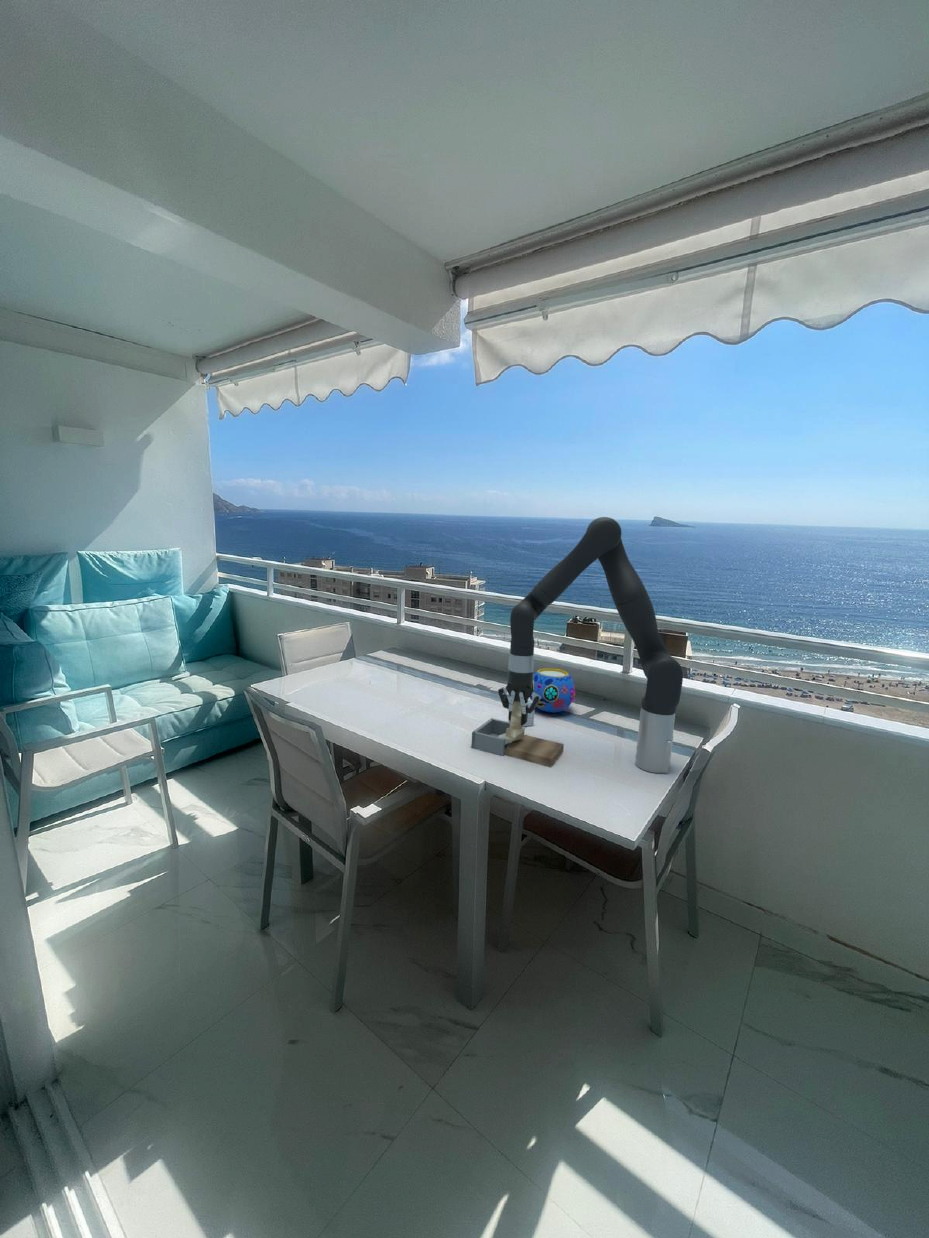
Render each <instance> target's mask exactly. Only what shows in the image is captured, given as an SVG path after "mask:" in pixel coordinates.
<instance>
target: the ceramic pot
mask: <svg viewBox="0 0 929 1238" xmlns="http://www.w3.org/2000/svg"><path fill="white" fill-rule="evenodd" d="M532 687H533V690H534V693H536V694H537V695H539V694H540V695H541V699H540V701H539V702H538V704H537V706H536V708H537V709H539V710H540V711H543V712H546V713H551V712H552V713H554V714H555V713H559V712H563V711H565V710H567V709H568V708H569V707H570V706H571V705H572V703H573V702H574V700H575V696H576V688H575V682H574V680H573V677H572V676H571V674H569V673H568V672H567V671H565V670H562V669H560V668H559V669H557V668H549V667H548V668H541V669H538V670H537V671H535V672H533V685H532ZM529 699H530V700H532V695H531V696H530V697H529ZM532 701H533V700H532Z"/></svg>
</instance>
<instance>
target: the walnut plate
mask: <svg viewBox="0 0 929 1238" xmlns="http://www.w3.org/2000/svg"><path fill="white" fill-rule="evenodd" d="M564 746H565V744H564V743H562V742H556V741H553V740H548V739H545V738H540V737H537V736H533V735H532V736H531V735H528V734H524V738H521V739H518V740H515V741H513V742H511V743H510V744H509V745H508V746H507V747H506V754H505V756H507V757H511V758H516V759H519V760H523V761H527V762H530V763H533V764H537V765H542V766H544V767H548V768H549V767H550V768H552V766H554V764H555V763H556V762H557V760H558V759H559V758H560V756H561V755H562V754H563V753H564Z"/></svg>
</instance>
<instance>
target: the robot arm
mask: <svg viewBox="0 0 929 1238" xmlns="http://www.w3.org/2000/svg"><path fill="white" fill-rule="evenodd" d="M625 549H626V548H625V546H624V544H623V539H622V528H621V525H620V524H619V522H617V521H616V520H615V519H614V518H612V517H608V516H602V517H601V516H600V517H597V518H595V519H594V520H592V521H591V522H590V523H589V524H588V526H587V528H586V531H585V533H584V535H583V536H582V538H581V539H580V540H579V542H578V543H577V544H576V545H575V547H574V548H573V549H572V550H571V551H570V552H569V553H568V554H567V555H565V557H563V559H562V560H561V561H559V562H558V563H557V564H555V566H553V567H552V568H551V570H549V571H548V572H547V573H546V574H545V575H544V576H543V577H542V578H541V579H540V581H538V582H537V583H536V584H535V586H534V587H533V588H532V590H531V592H529V593H528V594H527V595H525V597H524V598H523V599H521V601H519V602H518V603H517V604H516V605H514V607H513V608H512V609H511V612H510V616H509V617H510V620H509V622H510V626H509V627H510V636H511V637H510V647H509V648H510V649H509V657H508V668H507V669H508V671H507V684H506V686H505V687H501V688H499V689H498V690H497V693H498V695H499V698H500V702H501V704H502V708H504V709H507V710H508V715H507V717H508V718H507V719H509V720H510V721H511V714H512V707H513V704H514V701H519V702H520V703H521V707H522V715H521V725H524V724H525V723H527V718H528V713H532V712H533V711H534V710H535V711H536V708H537V707H536V706H537V704H538V702H539V701H540V699H541V695H540V694H539V695H537V694H536V693H534V690H533V687H532V685H533V674H534V670H535V659H534V656H535V637H534V626H535V621H536V620H537V619H538V618H539V616H541V615H542V613H543V612H544V611H545V610H546V609H547V608H548V607H549V606H551V605H552V604H553V603H554V602H555V601H556V600H557V599H558V598H559V597H560V596H562V594H563V593H564V592H565V591H566V590H567V589H568V588H569V587H570V586H571V585H572V584H573V583H574V582H575V580H576V579H577V578H578V577H579V576H580V575H581V574H582V573H583V572H584V571H585V570H586V569H587V568H588V567H590V565H592V564H593V563H594V562H595V561H597V560H598V562H599V563H600V565H601V567H602V570H603V572H604V577H605V578H606V583H607V586H608V589H609V593H610V595H611V598H612V601H613V603H614V606H615V608H616V610H617V613H618V615H619V617H620V620H621V622H622V624H623V625H624V627H625V628H626V629H625V630H626V631H627V632H628V634H629V636H630V638H631V639H632V642H633V643H634V645H635V649H636V651H637V654H638V658H639V660H640V664H641V668H642V672H643V674H644V676H645V677H646V679H647V680H646V688H645V694H644V696H643V697H642V699H641V706H640V714H639V722H638V723H639V724H638V732H637V740H636V741H637V742H636V754H635V762H634V763H635V765H636V767H638V768H639V769H641V770H643V771H646V772H650V773H655V774H669V769H670V766H671V760H672V758H671V757H672V751H673V742H674V728H675V720H676V712H677V707H678V706H679V704H680V700H681V694H682V688H683V682H684V680H683V679H684V671H683V667H682V665H681V664H680V663H679V662H678V661H677V660H676V659H675V658H673V656H672V655H671V654H670V652H669V650H668V649H667V647H666V645H665V644H664V641H663V640H662V638H661V635H660V632H659V628H658V623H657V622H658V621H657V617H656V612H655V609H654V605H653V602H652V599H651V598H650V595H649V593H648V590H647V589H646V587H645V585H644V583H643V581H642V579H641V578H640V575H639V573H637V571H636V570H635V567H634V566H633V565H632V563H631V561H630V560H629V557H628V555H627V553H626V550H625ZM507 694H508V695H509V697H510V698H508V695H507ZM531 695H532V700H533V702H532V704H531V706H530V708H528V703H529V702H528V699H530V696H531Z"/></svg>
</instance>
